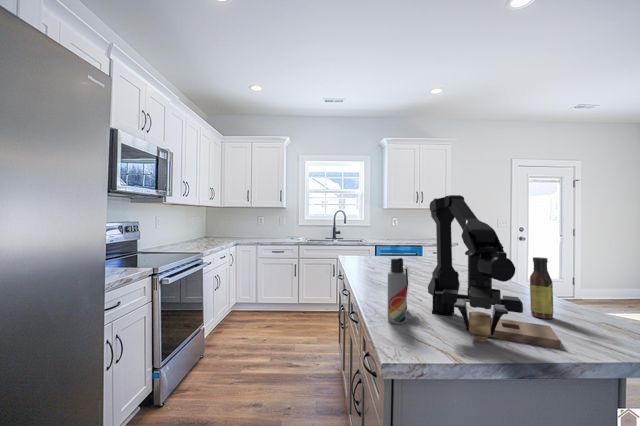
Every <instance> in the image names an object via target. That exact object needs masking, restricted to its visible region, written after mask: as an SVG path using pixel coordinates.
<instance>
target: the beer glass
mask: <svg viewBox="0 0 640 426" xmlns="http://www.w3.org/2000/svg"><path fill="white" fill-rule="evenodd" d="M389 268H390V270H389V272H391V266H390V267H389ZM403 273H406V312H408V311H409V307H408V295H409V290H410V279H411V278H410V267H408V266H403Z"/></svg>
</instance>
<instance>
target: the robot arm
mask: <svg viewBox="0 0 640 426" xmlns="http://www.w3.org/2000/svg"><path fill="white" fill-rule="evenodd" d="M429 211H430V217H431V218H432V220H433V222H434V223H435V226H436V230H435V231H436V233H435V234H436V266H435V268H434V270H432V273H431V274H432V275H431V276H432V277H431V278H430V281H429V283H428V285H427V293H428V294H430V295H431V296H432V309H431V314H436V315H443V316H449V317H450V316H451V317H452V316H453V314H454V313H455V308H457V309H458V310H459V312H460V314H461V316H462V320H463V322H464V325H465V329H466V331H468V332H469V312H468V307H467V306H468V305H467V303H469V306H470V307H471V308H479V309H485V310H491V309H492V315H491V318H492V322H491V335H493V333H494V331H495V328H496V326H497V323H498V321H499V319H502V316H503V315H508V314H509V312H510V313H517V314H522V313H524V306H523V305H524V304H523V302H522V300H521V299H520V298H519V296H511V295H502V298H501V290H500V289H498V288H493V280H495V281H499V282H503V283H504V282H508V281H510V280H511V279H513V277H514V276H515V274H516V266H515V264H514V262H513V261H512V260H511V259H510V258H508V257H507V256H508V253H507V252H505V251H504V246H503V244H502V243H501V242H500V239H499V237H498V234H497V233H496V231H495V229H494V228H493V227H492V226H491V225H489V224H488V223H487V222H483V221H481V220H480V219H478V217H477V216H476V215H475V213H474V212H473V211H472V209H471V208H470V206H469V205H468V204H467V203H466V201H465V198H464V196H463V195H460V194H459V195H458V194H455V195H453V194H449V195H445V196H444V197H439V198H436V197H435V198H433V200H432V201H430V203H429ZM454 219H455V220H456V222H457V223H458V225H459V226H460V228H461V230H462V232H461V239H462V242H463V244H464V245H465V247H466V248H467V250H466V251H465V252H464V255H466V256H467V294H463V293H459V290H460V280H459V279H460V278H459V276H460V274H459V272H458V271H456V269H455V268H454V266H453V245H452V244H453V242H452V223H453V221H455V220H454ZM492 306H493V308H492Z"/></svg>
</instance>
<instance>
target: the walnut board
mask: <svg viewBox="0 0 640 426" xmlns="http://www.w3.org/2000/svg"><path fill="white" fill-rule="evenodd" d="M491 322H492V317H491ZM489 338H494V339H495V338H496V339H502V340H508V341H513V342H520V343H527V344H532V345H538V346H544V347H549V348H550V347H551V348H554V349H555V348H556V349H561V347H562V346H561V343H562V342H561V341H562V340H561V339H560V337H559V336H558V335H557V334H556V332H555V331H554V330H553V328H552V327H551V326H550V325H546V324H540V323H534V322H533V323H532V322H527V321H518V320H511V319H506V318H505V319H504V318H500V319H499V321H498V323H497V326H496V328H495V331H494V333H493V335H491V336H490V337H489Z"/></svg>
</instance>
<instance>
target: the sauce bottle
mask: <svg viewBox="0 0 640 426" xmlns="http://www.w3.org/2000/svg"><path fill="white" fill-rule="evenodd" d="M548 261H549V260H548V257H544V256H543V257H541V256H540V257H539V256H533V257H532V262H533V271H532V273H531V275H530V276H529V299H530V300H529V301H530V302H529V304H530V306H529V307H530V313H531V316H533V317H535V318H538V319H546V320H550V319H553V317H554V292H553V289H554V287H553V285H554V284H553V280H552V278H551V276H550V273H549V270H548Z"/></svg>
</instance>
